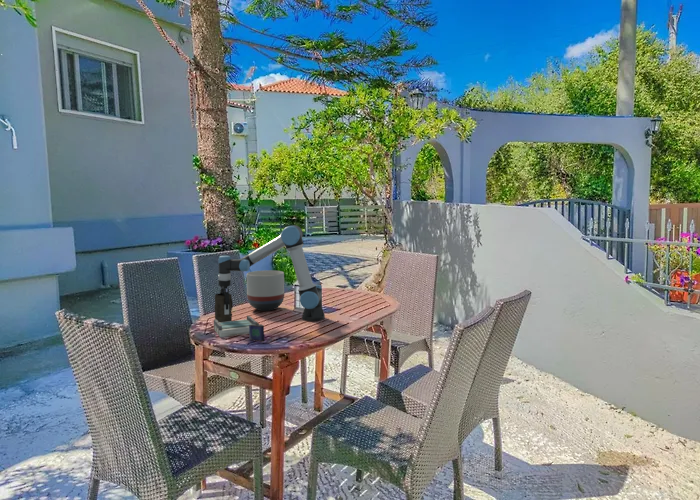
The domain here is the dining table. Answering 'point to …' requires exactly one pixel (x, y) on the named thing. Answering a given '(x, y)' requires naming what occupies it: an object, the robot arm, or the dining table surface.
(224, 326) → the tray
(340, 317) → the dining table surface
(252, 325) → the flask
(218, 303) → the beer stein
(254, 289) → the planter
